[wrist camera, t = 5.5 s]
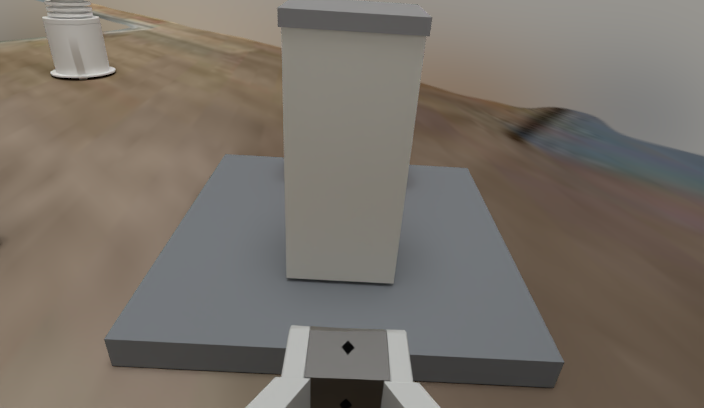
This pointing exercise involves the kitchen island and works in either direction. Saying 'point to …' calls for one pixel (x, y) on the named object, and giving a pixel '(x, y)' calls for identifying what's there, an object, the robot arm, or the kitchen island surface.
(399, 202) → the beige rectangular block
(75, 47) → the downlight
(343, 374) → the robot arm
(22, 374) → the kitchen island surface
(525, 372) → the base
